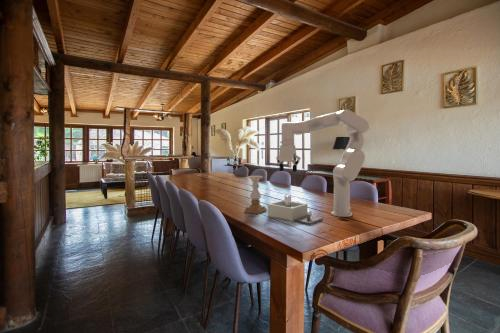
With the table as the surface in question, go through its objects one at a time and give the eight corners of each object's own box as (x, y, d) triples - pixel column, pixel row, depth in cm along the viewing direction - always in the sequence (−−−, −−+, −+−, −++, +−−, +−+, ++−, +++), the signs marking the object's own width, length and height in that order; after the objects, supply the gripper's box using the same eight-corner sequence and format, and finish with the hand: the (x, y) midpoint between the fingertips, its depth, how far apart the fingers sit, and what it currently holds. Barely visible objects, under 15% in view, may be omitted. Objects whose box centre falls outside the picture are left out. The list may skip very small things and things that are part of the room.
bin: (283, 212, 181) (283, 200, 180) (307, 216, 168) (307, 204, 168) (268, 216, 169) (267, 204, 169) (292, 222, 157) (292, 208, 156)
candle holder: (253, 209, 191) (253, 175, 189) (266, 211, 185) (266, 175, 183) (244, 212, 182) (243, 176, 180) (257, 214, 176) (257, 177, 174)
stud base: (307, 217, 167) (307, 207, 167) (322, 220, 160) (322, 209, 160) (294, 222, 157) (294, 211, 157) (309, 225, 150) (309, 214, 150)
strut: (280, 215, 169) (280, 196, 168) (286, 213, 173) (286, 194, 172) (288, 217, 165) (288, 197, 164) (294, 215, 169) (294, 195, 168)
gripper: (272, 143, 169) (273, 170, 170) (296, 142, 157) (296, 172, 158) (280, 143, 174) (280, 170, 176) (303, 142, 162) (303, 171, 164)
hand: (288, 171), depth 167 cm, fingers open, 9 cm apart
